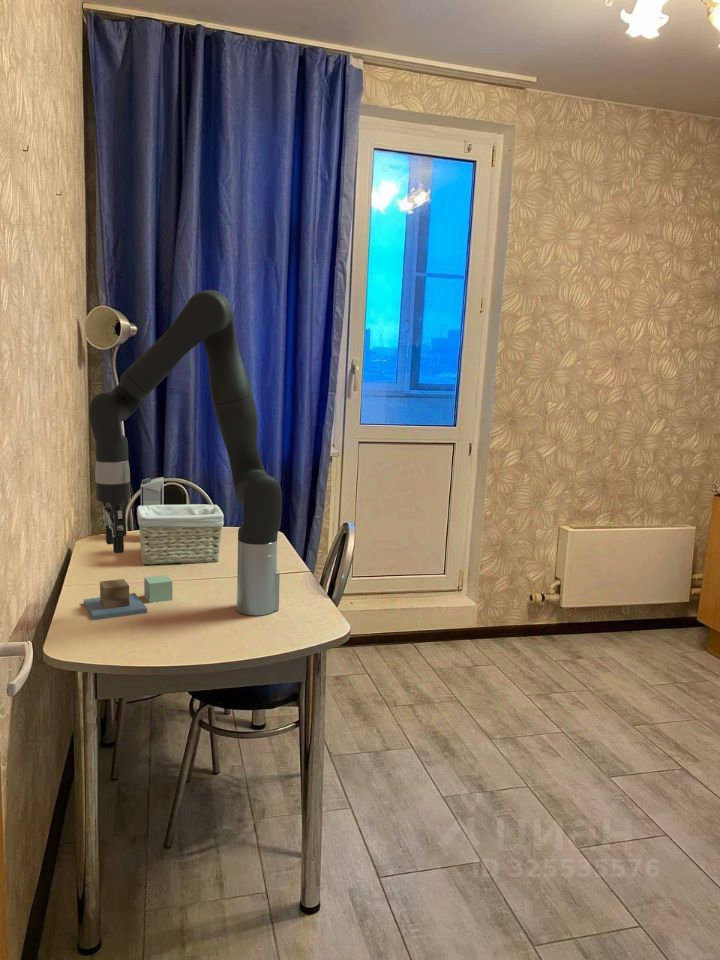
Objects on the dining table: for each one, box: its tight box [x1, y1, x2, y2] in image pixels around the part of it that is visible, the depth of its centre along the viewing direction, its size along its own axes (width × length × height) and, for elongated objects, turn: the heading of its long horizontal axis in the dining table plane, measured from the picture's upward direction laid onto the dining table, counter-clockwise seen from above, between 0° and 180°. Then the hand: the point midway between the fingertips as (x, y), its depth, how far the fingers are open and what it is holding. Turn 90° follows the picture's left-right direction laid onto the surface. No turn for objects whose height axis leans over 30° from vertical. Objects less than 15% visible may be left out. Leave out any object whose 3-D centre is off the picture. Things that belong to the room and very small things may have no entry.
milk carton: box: [140, 476, 165, 506], centre depth 235 cm, size 7×7×20 cm
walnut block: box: [99, 578, 130, 609], centre depth 174 cm, size 6×6×5 cm
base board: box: [83, 592, 148, 621], centre depth 174 cm, size 12×12×1 cm
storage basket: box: [136, 503, 225, 565], centre depth 217 cm, size 24×16×15 cm
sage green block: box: [143, 574, 173, 604], centre depth 182 cm, size 6×6×5 cm
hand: (114, 548), depth 172 cm, fingers open, 8 cm apart
